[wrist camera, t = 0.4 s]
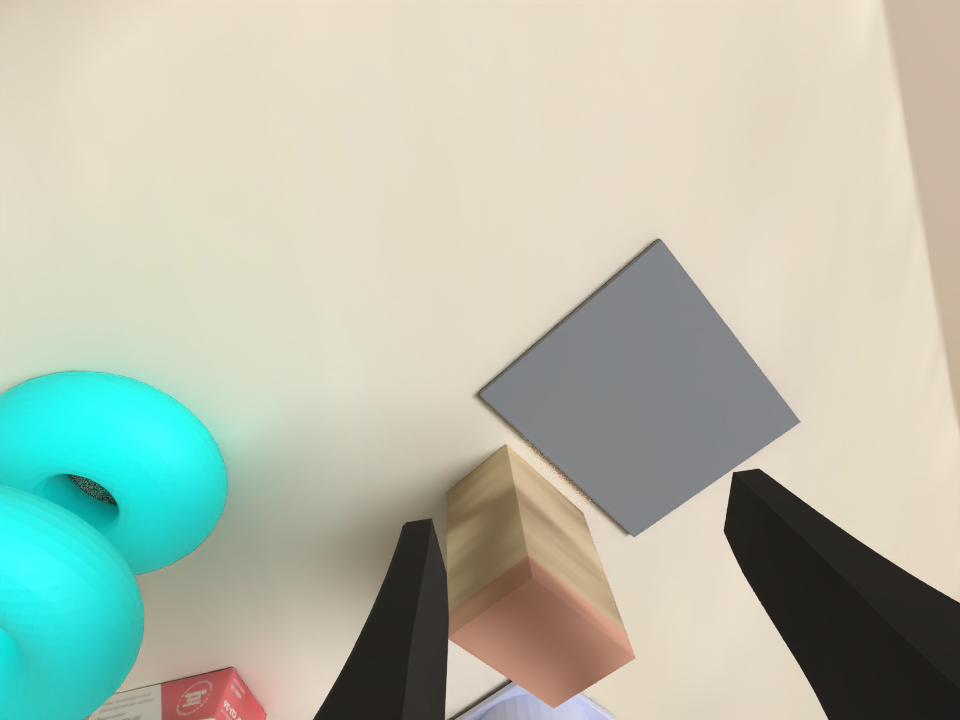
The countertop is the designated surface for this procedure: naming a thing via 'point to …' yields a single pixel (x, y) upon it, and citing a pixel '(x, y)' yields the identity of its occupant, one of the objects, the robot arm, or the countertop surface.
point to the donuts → (91, 530)
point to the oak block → (529, 582)
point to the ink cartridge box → (186, 700)
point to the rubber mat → (642, 394)
